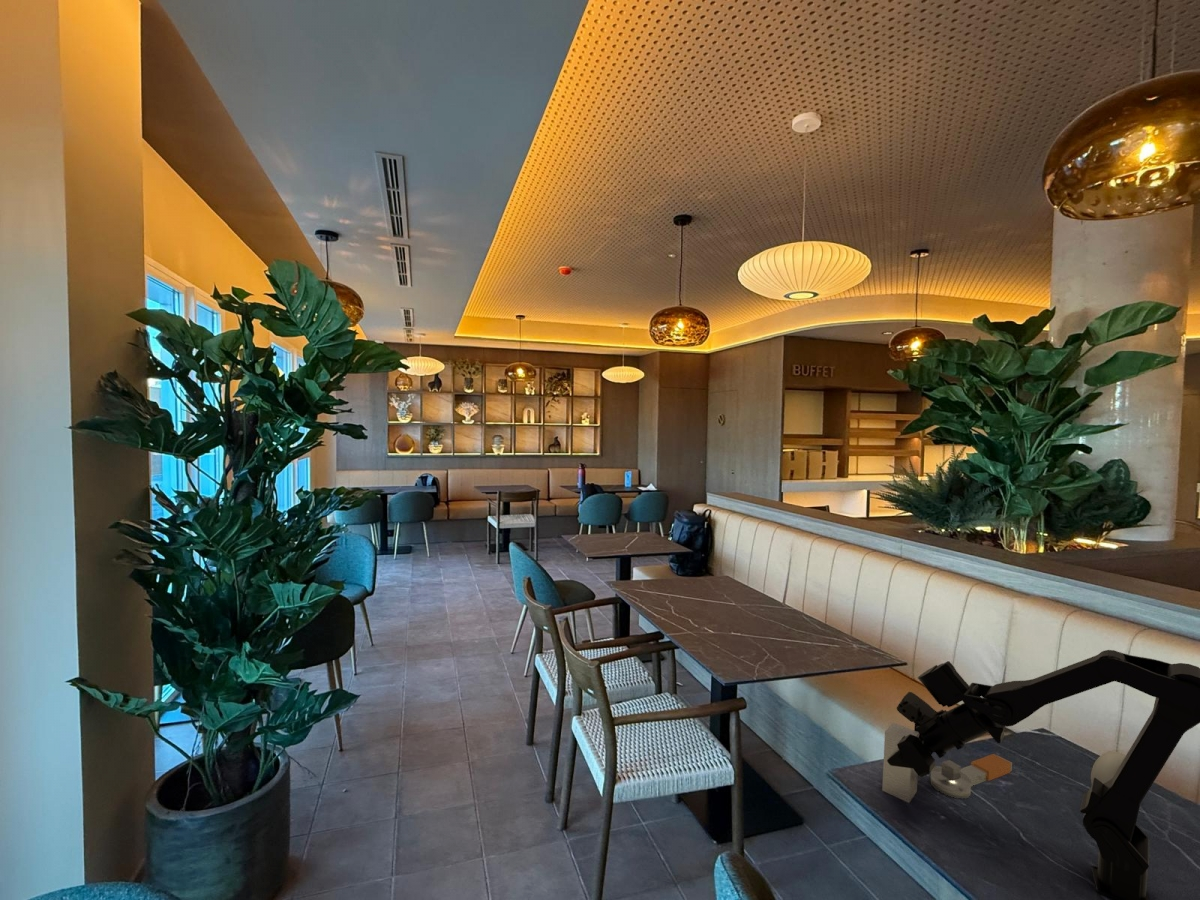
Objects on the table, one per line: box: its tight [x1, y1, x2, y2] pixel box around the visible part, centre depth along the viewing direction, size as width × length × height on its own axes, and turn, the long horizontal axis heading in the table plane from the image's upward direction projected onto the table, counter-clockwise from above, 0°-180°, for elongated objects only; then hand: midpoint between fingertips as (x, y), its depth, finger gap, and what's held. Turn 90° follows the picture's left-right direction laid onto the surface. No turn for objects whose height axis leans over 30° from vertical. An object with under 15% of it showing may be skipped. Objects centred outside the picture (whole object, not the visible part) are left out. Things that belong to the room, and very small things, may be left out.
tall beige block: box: [881, 722, 919, 804], centre depth 112 cm, size 5×5×12 cm
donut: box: [1090, 750, 1127, 784], centre depth 111 cm, size 10×4×10 cm, turn 105°
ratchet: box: [930, 753, 1013, 800], centre depth 117 cm, size 22×7×5 cm, turn 115°
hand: (893, 757), depth 113 cm, fingers open, 6 cm apart
